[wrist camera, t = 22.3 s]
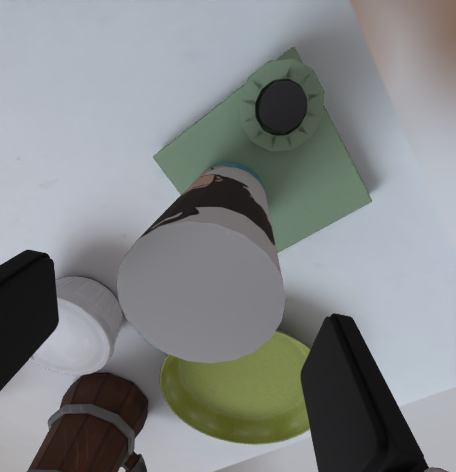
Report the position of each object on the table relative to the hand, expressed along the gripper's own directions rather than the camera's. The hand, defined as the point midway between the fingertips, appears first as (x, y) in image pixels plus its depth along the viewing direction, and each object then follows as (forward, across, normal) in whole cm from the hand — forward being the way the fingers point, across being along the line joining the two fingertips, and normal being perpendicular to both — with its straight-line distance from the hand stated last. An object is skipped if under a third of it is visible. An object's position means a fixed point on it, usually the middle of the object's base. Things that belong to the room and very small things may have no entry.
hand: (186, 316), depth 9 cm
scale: (+18, -3, -2) cm, 18 cm away
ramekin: (+18, +14, +18) cm, 29 cm away
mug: (+18, +9, +36) cm, 41 cm away
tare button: (+15, -3, -8) cm, 17 cm away
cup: (+16, 0, +1) cm, 17 cm away
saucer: (+18, -7, +23) cm, 30 cm away
